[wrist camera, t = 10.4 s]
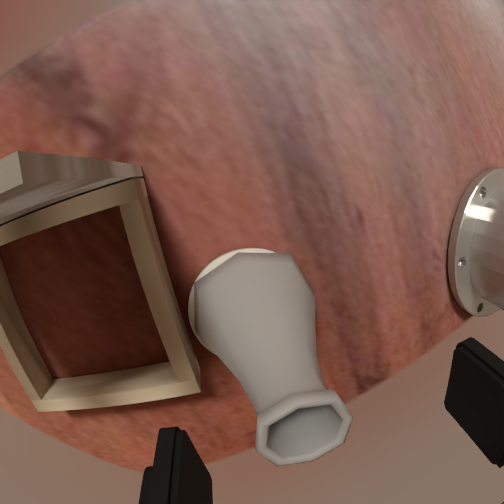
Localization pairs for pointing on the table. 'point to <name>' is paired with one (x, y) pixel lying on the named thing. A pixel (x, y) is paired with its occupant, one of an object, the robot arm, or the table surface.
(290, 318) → the flask
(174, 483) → the robot arm
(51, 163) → the open-lid wooden box
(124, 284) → the table surface
